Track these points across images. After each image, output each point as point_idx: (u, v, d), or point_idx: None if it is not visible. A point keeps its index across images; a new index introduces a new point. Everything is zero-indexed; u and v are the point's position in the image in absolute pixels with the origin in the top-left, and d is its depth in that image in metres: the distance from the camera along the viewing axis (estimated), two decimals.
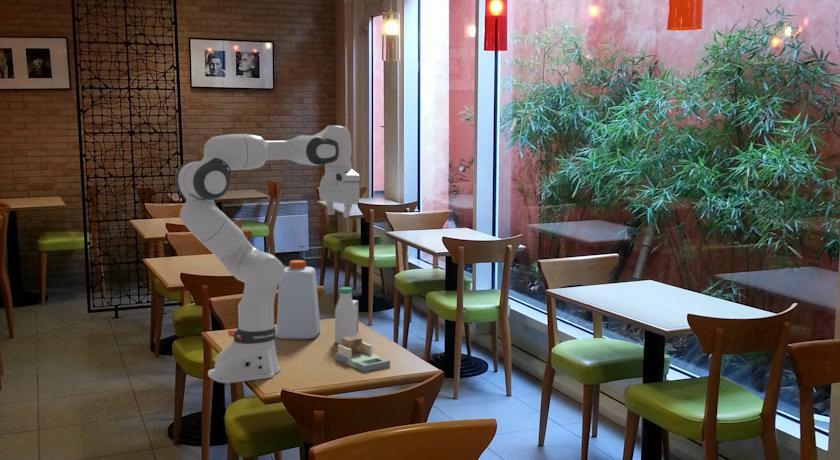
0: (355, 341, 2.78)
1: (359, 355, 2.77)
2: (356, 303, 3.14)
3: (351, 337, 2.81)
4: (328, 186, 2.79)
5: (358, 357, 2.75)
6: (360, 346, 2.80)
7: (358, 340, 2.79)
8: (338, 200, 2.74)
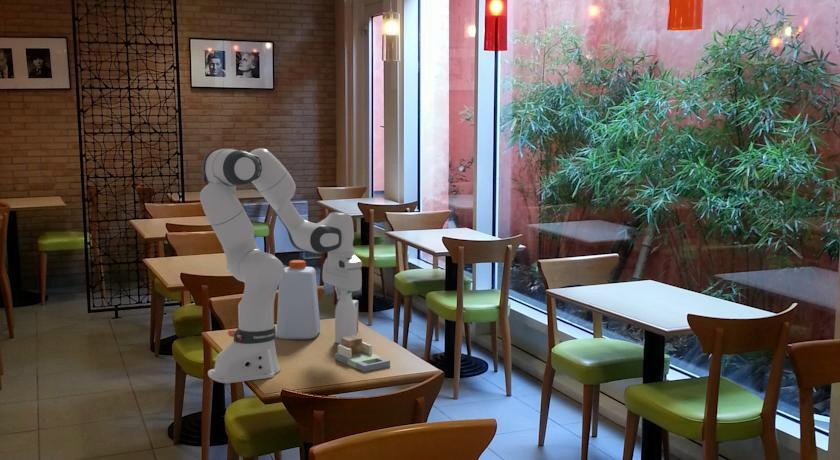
0: (355, 341, 2.78)
1: (359, 355, 2.77)
2: (356, 303, 3.14)
3: (351, 337, 2.81)
4: (331, 270, 2.85)
5: (358, 357, 2.75)
6: (360, 346, 2.80)
7: (358, 340, 2.79)
8: (341, 285, 2.80)
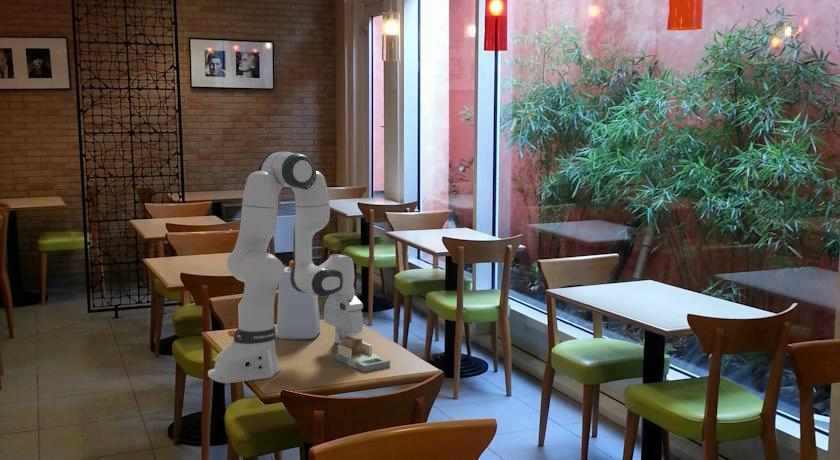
0: (355, 341, 2.78)
1: (359, 355, 2.77)
2: None
3: (351, 337, 2.81)
4: (332, 311, 2.87)
5: (358, 357, 2.75)
6: (360, 346, 2.80)
7: (358, 340, 2.79)
8: (342, 327, 2.82)
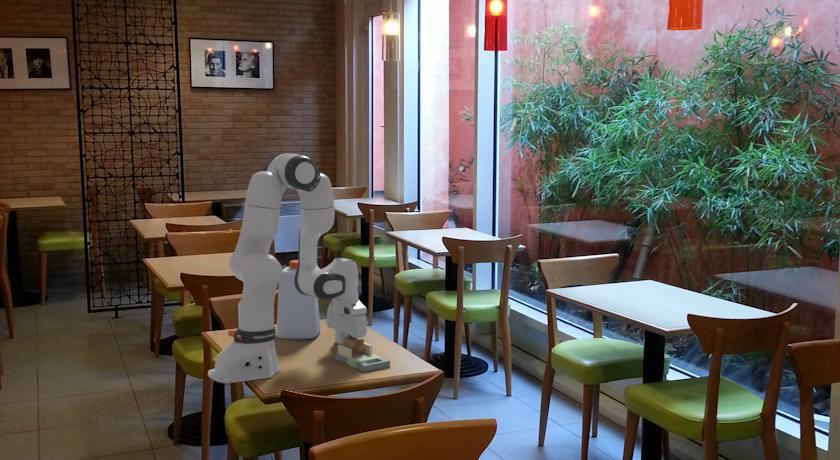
0: (357, 342, 2.78)
1: (359, 355, 2.77)
2: None
3: (353, 337, 2.81)
4: (335, 315, 2.85)
5: (358, 357, 2.75)
6: (362, 346, 2.79)
7: (360, 341, 2.78)
8: (345, 331, 2.80)
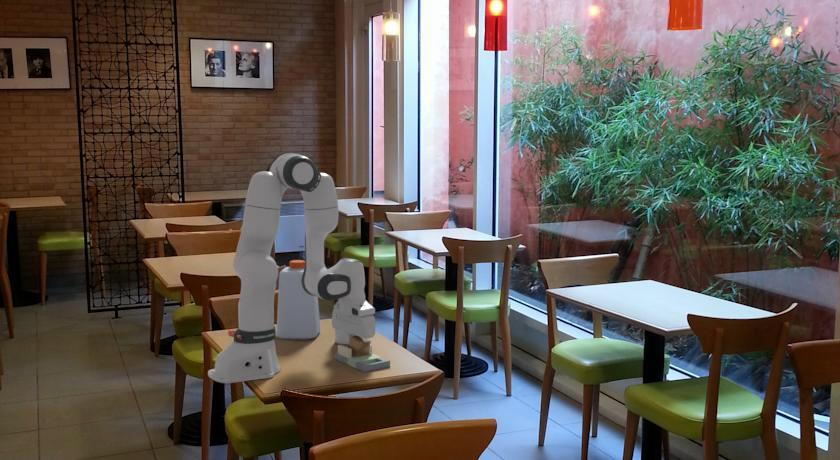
0: (364, 344, 2.76)
1: None
2: None
3: (360, 337, 2.78)
4: (342, 316, 2.82)
5: (358, 357, 2.75)
6: (367, 348, 2.78)
7: (367, 342, 2.76)
8: (353, 332, 2.77)
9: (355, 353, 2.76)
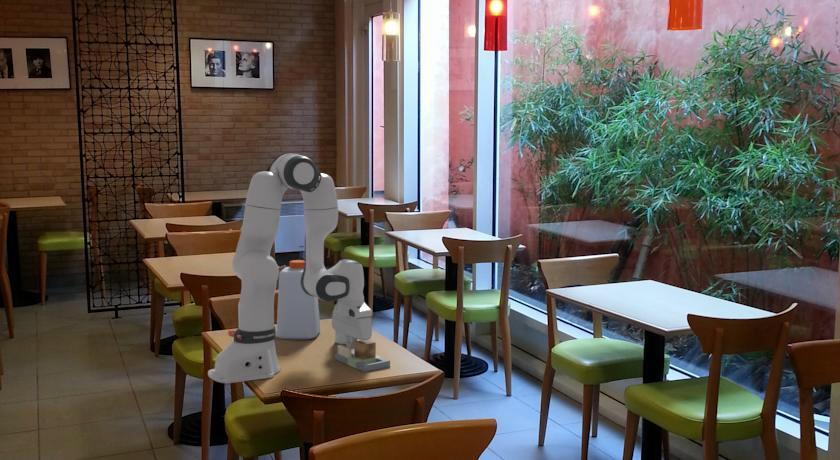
0: (369, 345, 2.73)
1: None
2: None
3: (365, 341, 2.76)
4: (341, 317, 2.82)
5: None
6: (374, 350, 2.75)
7: (372, 344, 2.74)
8: (351, 334, 2.77)
9: (361, 356, 2.73)
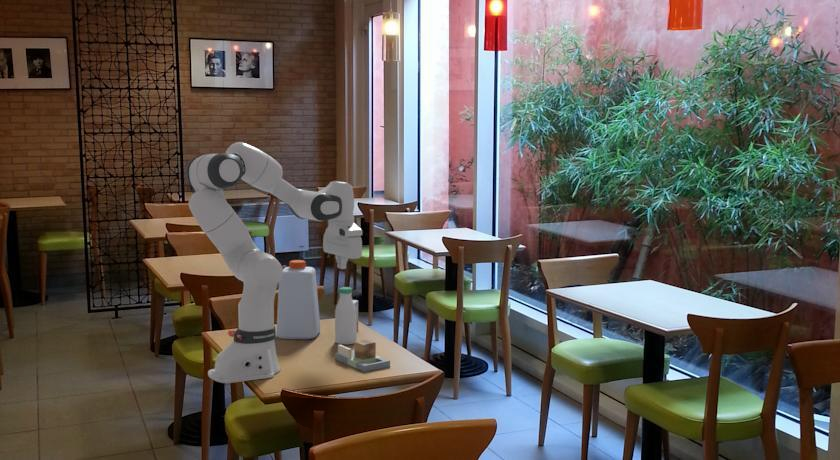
0: (369, 345, 2.73)
1: None
2: (356, 303, 3.14)
3: (365, 341, 2.76)
4: (331, 239, 2.87)
5: None
6: (374, 350, 2.75)
7: (372, 344, 2.74)
8: (341, 254, 2.82)
9: (361, 356, 2.73)
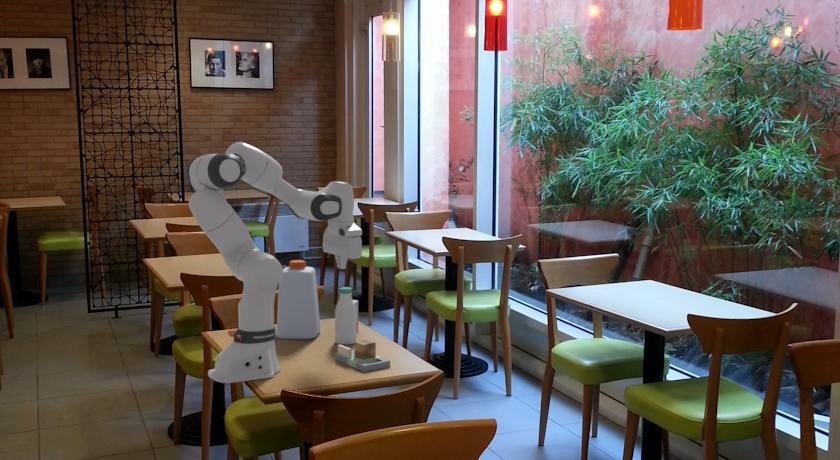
0: (369, 345, 2.73)
1: None
2: (356, 303, 3.14)
3: (365, 341, 2.76)
4: (331, 239, 2.87)
5: None
6: (374, 350, 2.75)
7: (372, 344, 2.74)
8: (341, 254, 2.82)
9: (361, 356, 2.73)
